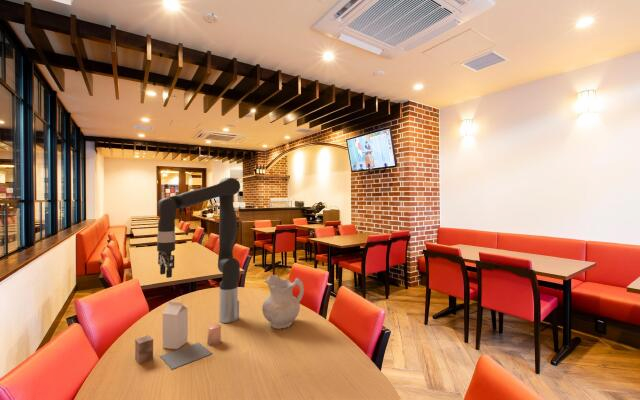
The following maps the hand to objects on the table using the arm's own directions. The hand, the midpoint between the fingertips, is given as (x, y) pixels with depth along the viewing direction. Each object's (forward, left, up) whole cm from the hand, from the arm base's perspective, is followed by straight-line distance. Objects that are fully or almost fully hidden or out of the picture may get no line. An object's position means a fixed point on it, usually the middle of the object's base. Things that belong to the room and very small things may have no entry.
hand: (165, 275), depth 138 cm
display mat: (0, +24, -28) cm, 37 cm away
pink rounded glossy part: (-13, +22, -28) cm, 38 cm away
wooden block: (+13, +15, -28) cm, 35 cm away
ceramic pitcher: (-47, +29, -28) cm, 62 cm away
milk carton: (0, +12, -28) cm, 31 cm away
